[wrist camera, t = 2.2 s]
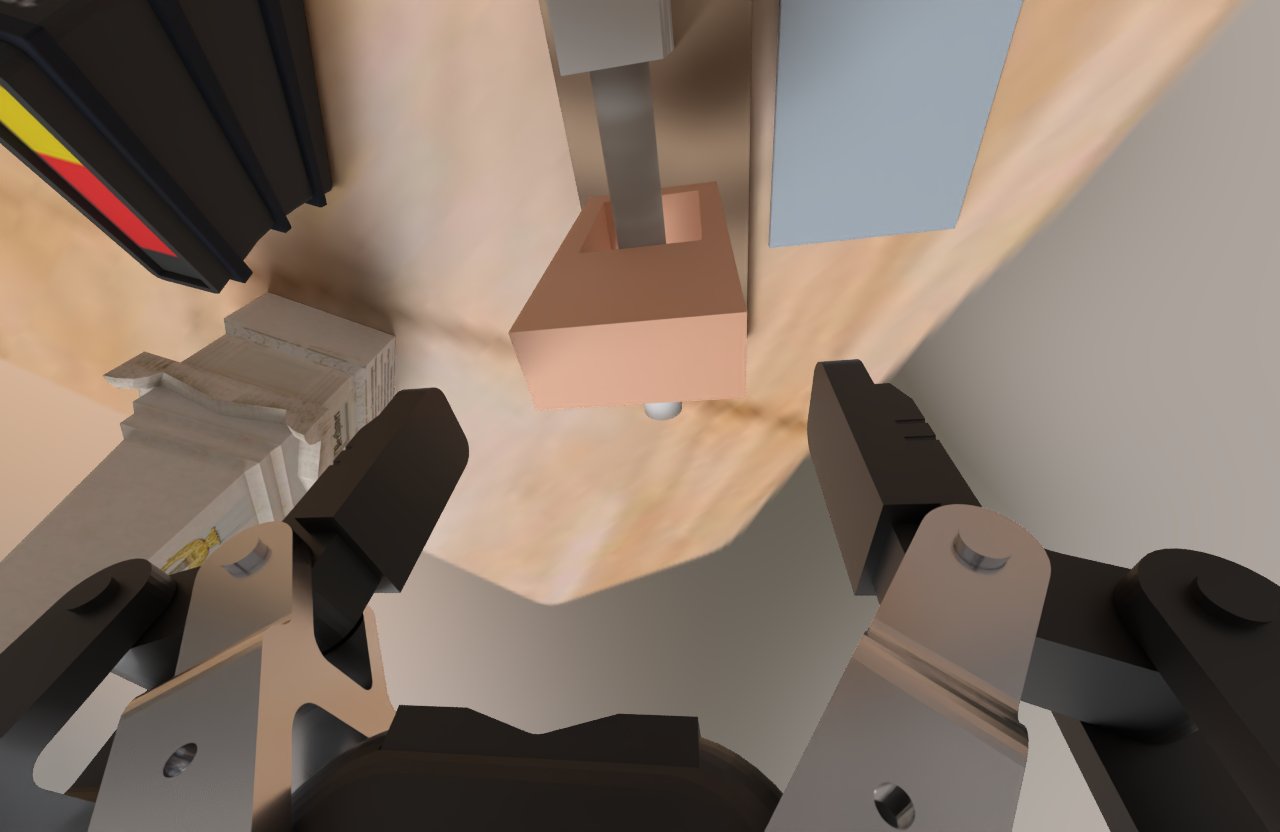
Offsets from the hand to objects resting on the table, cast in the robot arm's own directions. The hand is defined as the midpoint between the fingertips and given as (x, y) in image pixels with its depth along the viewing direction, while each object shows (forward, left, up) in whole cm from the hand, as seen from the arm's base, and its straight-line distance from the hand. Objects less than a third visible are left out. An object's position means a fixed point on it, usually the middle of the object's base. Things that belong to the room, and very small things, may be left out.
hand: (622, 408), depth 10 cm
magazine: (-6, -21, -23) cm, 32 cm away
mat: (-3, +12, -23) cm, 26 cm away
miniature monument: (+11, -29, -23) cm, 39 cm away
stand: (+1, 0, -23) cm, 23 cm away
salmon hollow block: (0, 0, -14) cm, 14 cm away
